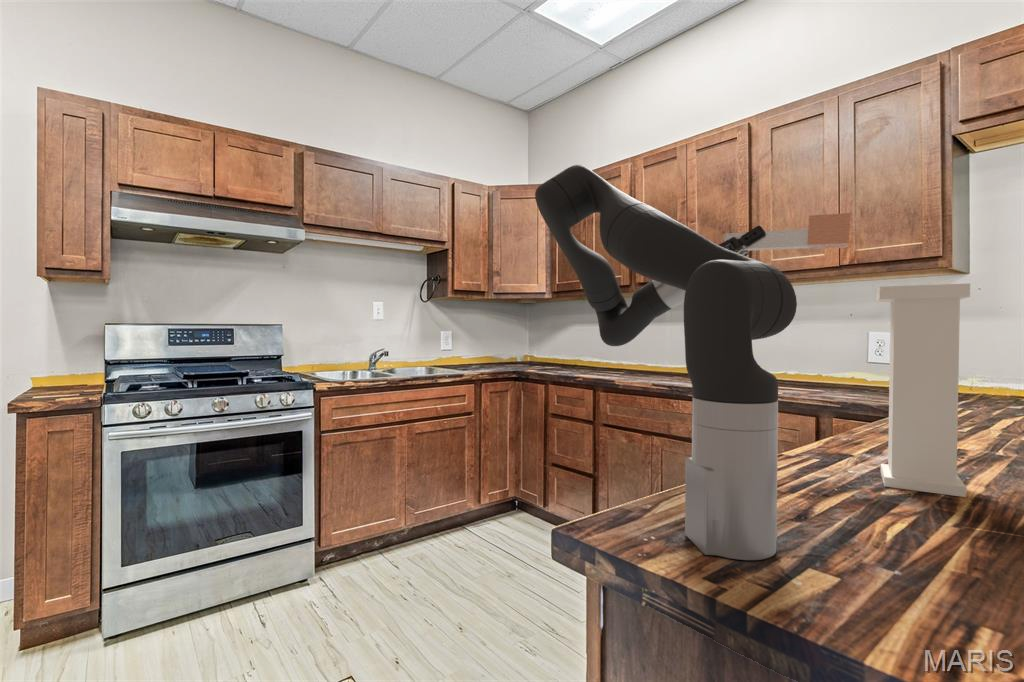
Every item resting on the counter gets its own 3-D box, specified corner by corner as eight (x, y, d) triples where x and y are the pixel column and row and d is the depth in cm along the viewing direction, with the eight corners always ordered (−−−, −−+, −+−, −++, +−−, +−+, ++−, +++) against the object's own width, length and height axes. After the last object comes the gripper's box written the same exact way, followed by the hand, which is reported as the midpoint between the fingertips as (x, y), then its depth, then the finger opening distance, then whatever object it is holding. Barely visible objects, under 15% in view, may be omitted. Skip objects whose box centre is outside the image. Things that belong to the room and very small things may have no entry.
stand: (876, 485, 84) (879, 286, 83) (873, 471, 92) (876, 290, 92) (966, 497, 78) (970, 283, 77) (954, 480, 86) (957, 288, 86)
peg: (721, 248, 98) (723, 221, 97) (727, 252, 103) (729, 227, 103) (848, 242, 87) (850, 212, 87) (848, 247, 92) (849, 219, 92)
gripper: (662, 262, 100) (748, 207, 92) (682, 269, 112) (759, 221, 103) (682, 295, 98) (771, 242, 90) (699, 299, 110) (779, 252, 101)
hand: (764, 231), depth 97 cm, fingers closed on peg, 3 cm apart
